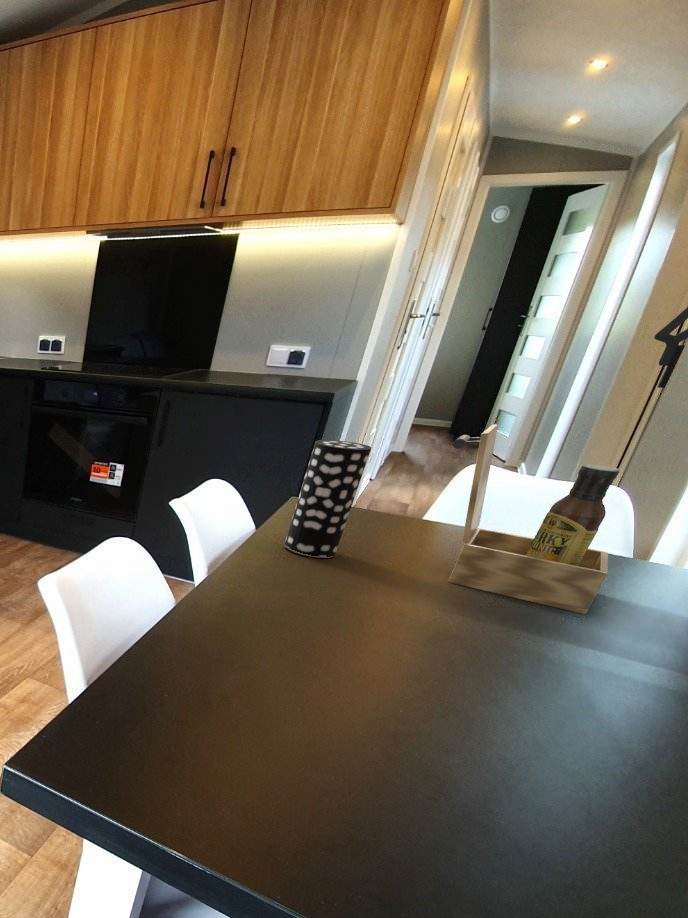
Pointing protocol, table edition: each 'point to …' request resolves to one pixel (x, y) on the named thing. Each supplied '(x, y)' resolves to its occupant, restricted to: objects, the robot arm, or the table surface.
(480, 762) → the table surface
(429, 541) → the table surface
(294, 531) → the white-spotted black cylinder
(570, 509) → the sauce bottle
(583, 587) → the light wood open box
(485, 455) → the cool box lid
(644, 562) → the table surface
